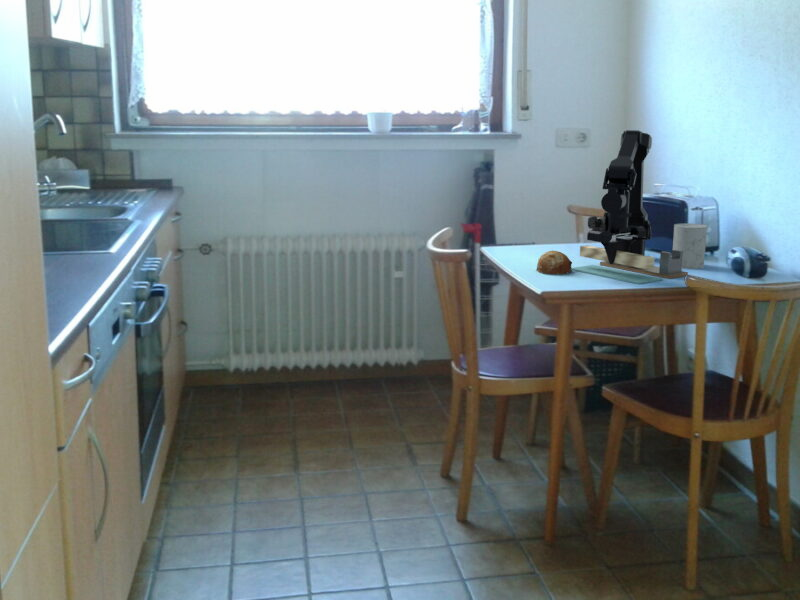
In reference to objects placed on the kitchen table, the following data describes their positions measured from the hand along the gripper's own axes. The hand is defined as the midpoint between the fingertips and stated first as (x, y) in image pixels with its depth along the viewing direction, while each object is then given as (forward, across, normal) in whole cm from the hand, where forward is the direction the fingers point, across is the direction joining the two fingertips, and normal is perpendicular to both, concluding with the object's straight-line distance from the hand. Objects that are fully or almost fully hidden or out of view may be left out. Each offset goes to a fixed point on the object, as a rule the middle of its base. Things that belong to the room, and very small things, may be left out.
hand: (615, 263), depth 253 cm
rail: (0, 0, 0) cm, 1 cm away
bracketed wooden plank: (+3, -12, 0) cm, 12 cm away
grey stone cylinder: (+4, -29, +3) cm, 29 cm away
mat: (+3, 0, 0) cm, 3 cm away
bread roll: (+4, +10, -14) cm, 18 cm away
